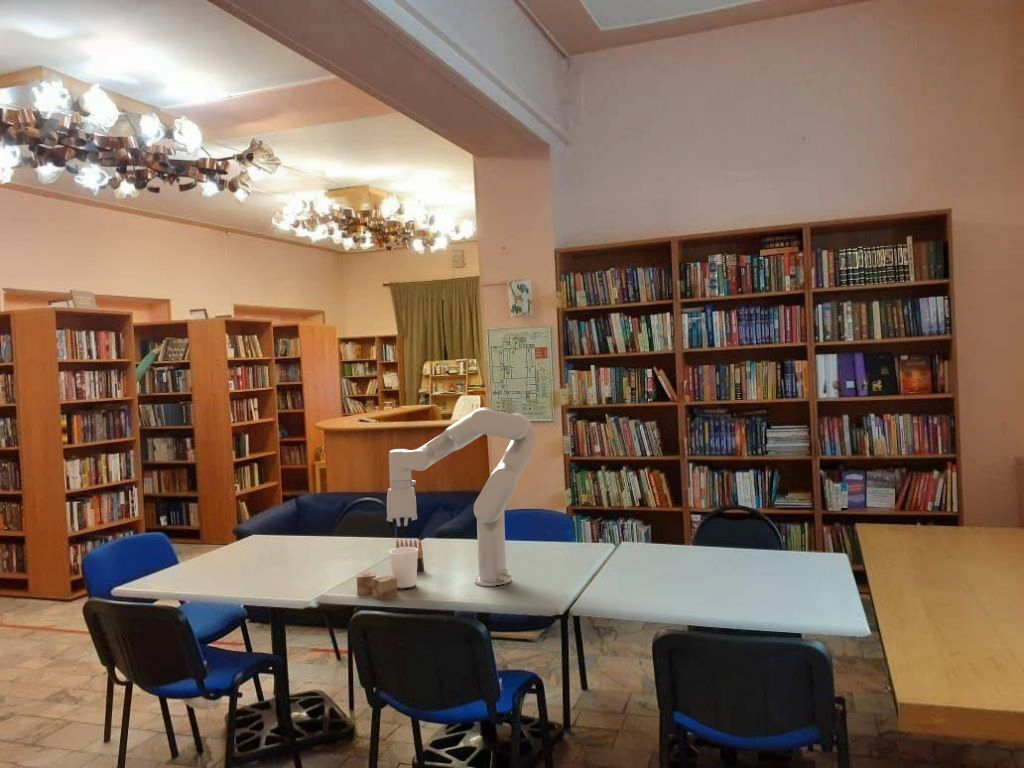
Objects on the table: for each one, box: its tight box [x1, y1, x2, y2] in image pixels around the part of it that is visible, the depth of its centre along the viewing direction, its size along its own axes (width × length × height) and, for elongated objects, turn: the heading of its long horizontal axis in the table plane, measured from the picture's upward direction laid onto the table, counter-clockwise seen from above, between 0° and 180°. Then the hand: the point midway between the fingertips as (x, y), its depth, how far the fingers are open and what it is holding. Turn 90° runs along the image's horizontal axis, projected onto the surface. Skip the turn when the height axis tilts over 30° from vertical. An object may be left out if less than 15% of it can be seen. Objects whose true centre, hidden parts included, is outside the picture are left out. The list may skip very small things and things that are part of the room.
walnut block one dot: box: [356, 571, 377, 596], centre depth 252 cm, size 6×6×6 cm
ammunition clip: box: [395, 538, 425, 573], centre depth 276 cm, size 11×2×12 cm, turn 78°
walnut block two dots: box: [372, 574, 398, 601], centre depth 246 cm, size 6×6×6 cm
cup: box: [389, 546, 418, 591], centre depth 255 cm, size 10×10×13 cm
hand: (402, 536), depth 259 cm, fingers closed
